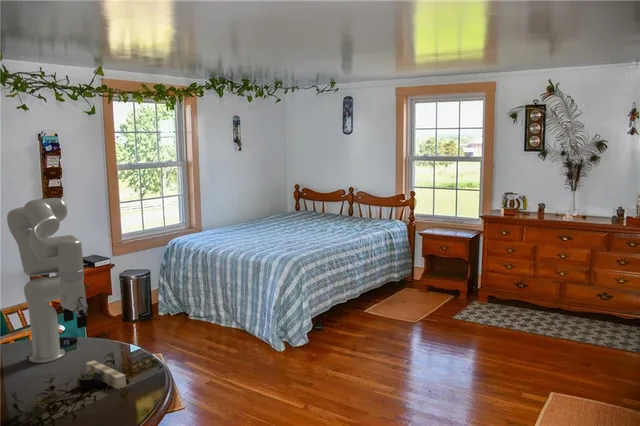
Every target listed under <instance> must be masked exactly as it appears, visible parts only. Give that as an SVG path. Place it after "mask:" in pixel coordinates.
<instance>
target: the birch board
mask: <svg viewBox="0 0 640 426" xmlns="http://www.w3.org/2000/svg"><path fill="white" fill-rule="evenodd" d="M85 365H86V374H87V373H95V372H97V373H98V375H99V374H100V375H99V376H100V377H99V381H101V382H103V383H104V382H105V383H104V384H106V383H107V385H109V386H110V387H113V388H114V389H116V390H120V388H121V389H123V388H126V387H127V378H126V374H124V373H122V372H120V371H118V370H116V369H113V368H112V367H110V366H107V365H105V364H103V363H101V362H99V361H97V360H94V359H93V360H91V361H87V362H86V363H85Z"/></svg>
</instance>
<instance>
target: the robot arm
mask: <svg viewBox="0 0 640 426" xmlns="http://www.w3.org/2000/svg"><path fill="white" fill-rule="evenodd" d="M67 215H68V207H67V204H66V202H65V201H64V200H63V199H62V198H59V197H51V198H50V197H49V198H48V197H47V198H39V199H38V198H37V199H33V200H29V201H27V202H26V203H25V204H24V206H23V207H22V206H21V207H16V208H14V209H11V210H10V211H8V213H7V216H6V221H7V222H6V223H7V227H8V230H9V231H10V233H11V236H12V237H13V238H14V240H15V242H16V244H17V247H18V252H19V256H20V260H21V264H22V268H23V272H24V274H25V275H26V276H28V277H38V276H43V275H44V276H45V275H49V274H50V275H51V274H55V275H52V276H45V277H41V278H40V277H39V278H36V279H32V280H29V281H27V282H26V284H25V285H24V287H23V294H24V297H25V302H26V304H27V310H28V315H29V316H28V317H29V324H30V334H31V343H32V353H33V354H31V355H29V357H28V360H29V362H31V363H33V364H42V363H49V362H53V361H56V360H59V359H60V358H63V357H64V356H65V355H66V351H65V350H64V349H63V348H61V345H60V344H61V343H60V333H59V332H60V331H59V324H58V323H59V322H58V313H57V310H56V309H55V308H54V306H52V305H51V304H49V303H50V302H53V301H58V300H59V304H60V307H62V312H63V322H65V323H67V322H71V321H74V319H75V316H74V312H75V314H76V328H77V329H82V328H84V327H87V326H88V317H87V315H88V303H87V298H86V297H87V296H86V290H85V284H84V279H85V270H84V261H83V260H84V258H83V257H84V256H83V246H82V240H80V239H78V237H76V236H74V235H69V234H68V235H67V234H66V235H61V236H60V235H59V236H58V235H57V236H53V235H54V234H56V233H57V231H58V230H59V229H60V222H62V221H63V220H65V218H66V217H67Z"/></svg>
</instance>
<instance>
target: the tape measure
mask: <svg viewBox="0 0 640 426" xmlns="http://www.w3.org/2000/svg"><path fill="white" fill-rule="evenodd" d="M99 375H100V374H99ZM99 375H98V373H97V372H95V373H87V372H86V373H84V374H82V375H79V376H78V378H77V386H78V388H80V389H83V390H85V389H86V390H87V389H91V388H95V387H97V386H100V380H99V377H100V376H99Z"/></svg>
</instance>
